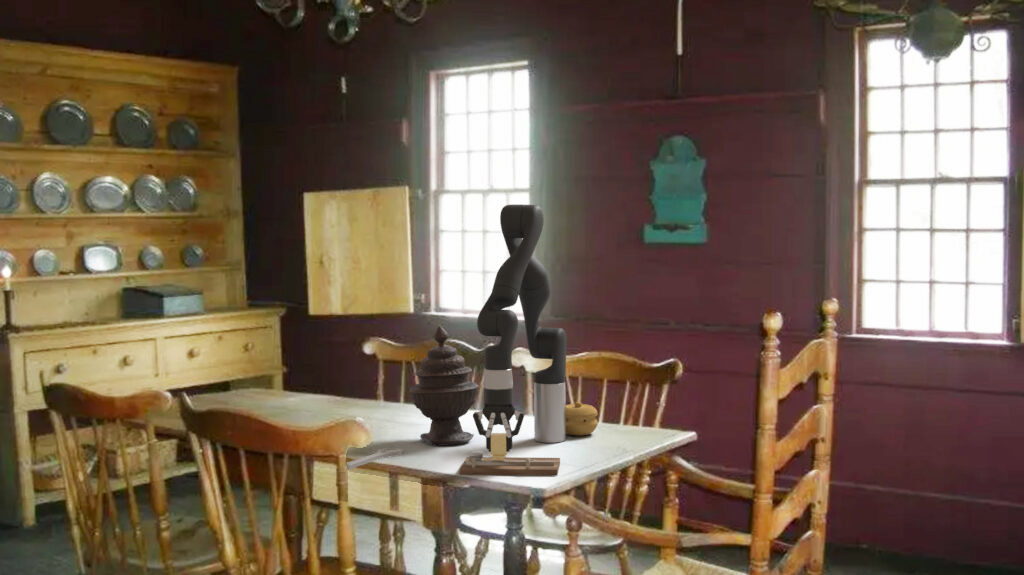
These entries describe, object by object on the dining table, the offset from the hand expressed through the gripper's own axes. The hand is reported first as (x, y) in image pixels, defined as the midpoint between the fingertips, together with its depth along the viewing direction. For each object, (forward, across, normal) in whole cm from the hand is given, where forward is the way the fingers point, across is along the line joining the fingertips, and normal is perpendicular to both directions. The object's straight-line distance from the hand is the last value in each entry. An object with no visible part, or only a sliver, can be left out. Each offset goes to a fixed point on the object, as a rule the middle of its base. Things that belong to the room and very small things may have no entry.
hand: (499, 450), depth 289 cm
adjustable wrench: (+5, +37, -9) cm, 38 cm away
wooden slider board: (+5, -3, 0) cm, 6 cm away
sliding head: (+3, 0, 0) cm, 3 cm away
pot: (+5, -19, -47) cm, 51 cm away
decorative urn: (+5, +20, -35) cm, 41 cm away
